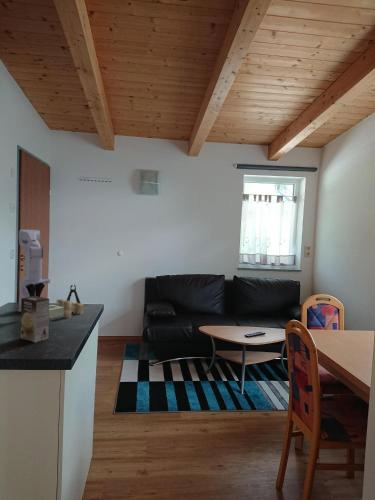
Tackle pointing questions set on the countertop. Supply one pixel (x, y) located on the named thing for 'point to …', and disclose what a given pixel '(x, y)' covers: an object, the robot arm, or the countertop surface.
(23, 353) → the countertop surface
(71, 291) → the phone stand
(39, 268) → the robot arm
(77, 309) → the oak wall
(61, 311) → the socket block
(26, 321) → the coffee box
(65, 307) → the dowel
